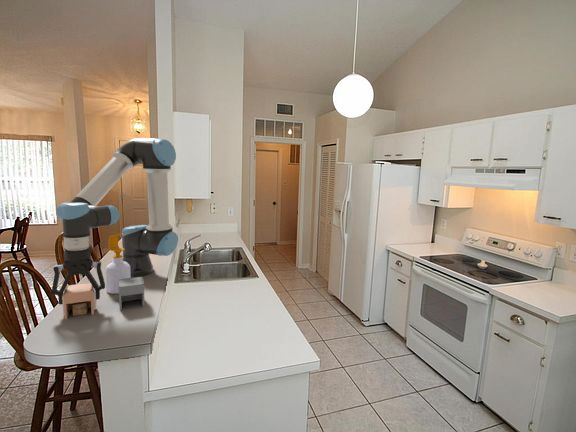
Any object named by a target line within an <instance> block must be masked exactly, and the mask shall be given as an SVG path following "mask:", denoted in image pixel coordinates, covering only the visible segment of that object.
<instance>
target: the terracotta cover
mask: <svg viewBox="0 0 576 432" xmlns="http://www.w3.org/2000/svg"><path fill="white" fill-rule="evenodd" d="M93 290H94V287H93V286H92V284H91V283H90V282H87V283H76V284H67V286H66V288H65V290H64V292H63V293H64V313H65V314H64V320H68V317H69V313H70V310H73V306H72V305H73V303H78V302H85V301H87V304H88V308H90V309H91V316H94V314H95V310H94V300H93Z"/></svg>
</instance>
